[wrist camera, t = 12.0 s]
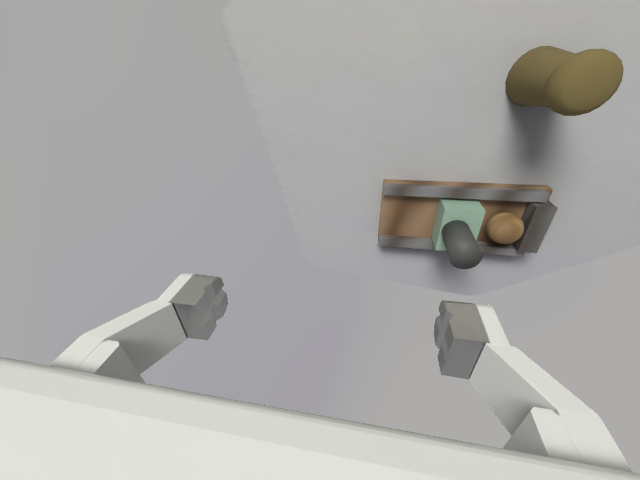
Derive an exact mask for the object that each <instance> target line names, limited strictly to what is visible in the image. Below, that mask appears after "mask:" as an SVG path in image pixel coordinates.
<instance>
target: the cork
mask: <svg viewBox="0 0 640 480" xmlns="http://www.w3.org/2000/svg"><path fill="white" fill-rule="evenodd" d="M623 70H624V69H623V65H622V61H621V59H620V58H619V57H618V56H617V55H616V54H615V53H613V52H611V51H608V50H605V49H588V50H585V51H582V52H579V53H576V54H575V53H571V52H568V51H565V50H562V49H558V48H555V47H552V46H541V47H538V48H535V49H532V50H530V51H529V52H527V53H525V54H524V55H522V56H521V57H520V58H519V59H518V60H517V61H516V62H515V63H514V65H513V66H512V68H511V70H510V71H509V73H508V76H507V80H506V93H507V95H508V98H509V99H510V100H511V101H512V102H513V103H515V104H518V105H520V106H549V107H550V108H551V110H552V111H554V112H556V113H559V114H562V115H564V116H576V115H581V114H585V113H589V112H591V111H593V110H594V109H596V108H598V107H600V106H601V105H602V104H604V103H605V102H606V101H607V100H609V99H610V98H611V96H612V95H613V94H614V93H615V92H616V90H617V89H618V87H619V85H620V83H621V81H622V75H623Z"/></svg>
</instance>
